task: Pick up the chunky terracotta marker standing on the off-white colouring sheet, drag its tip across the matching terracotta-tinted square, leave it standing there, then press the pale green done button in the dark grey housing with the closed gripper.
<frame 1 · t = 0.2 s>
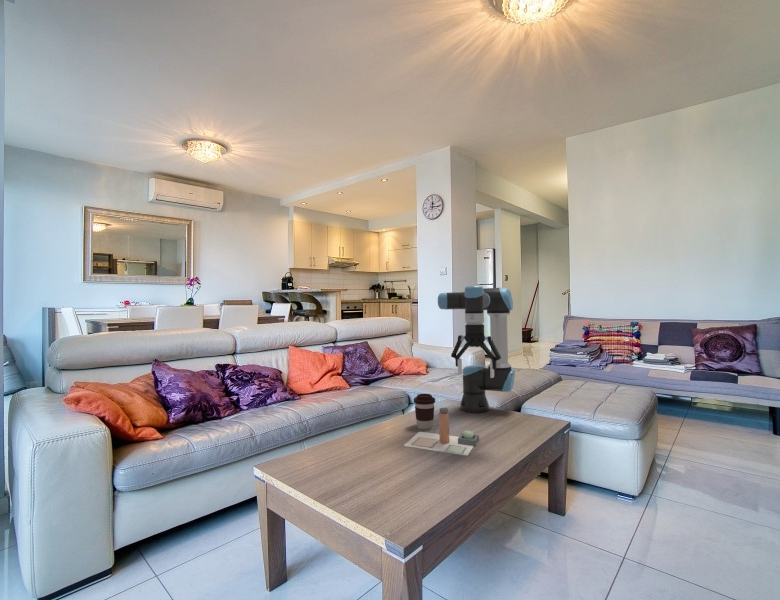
hand: (475, 376, 154), 27 cm above the table, fingers open, 13 cm apart
button housing: (468, 441, 155), resting on sheet
marker: (444, 442, 155), resting on sheet
done button: (468, 435, 155), point 3 cm above the table, slide at 0.0 cm
sheet: (441, 443, 154), on the table
coffee cup: (425, 428, 174), on the table
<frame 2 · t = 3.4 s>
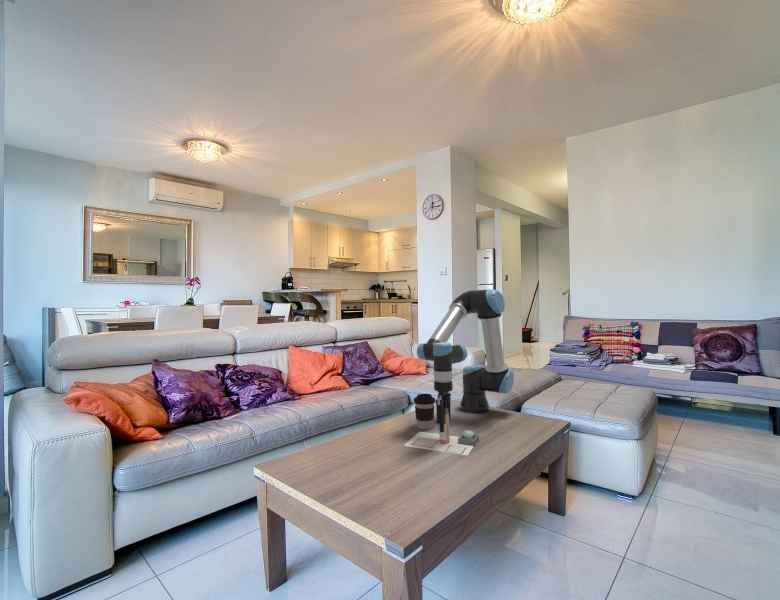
hand: (444, 437, 155), 2 cm above the table, fingers closed on marker, 4 cm apart
marker: (444, 442, 155), resting on sheet, touching gripper
everything else where it was.
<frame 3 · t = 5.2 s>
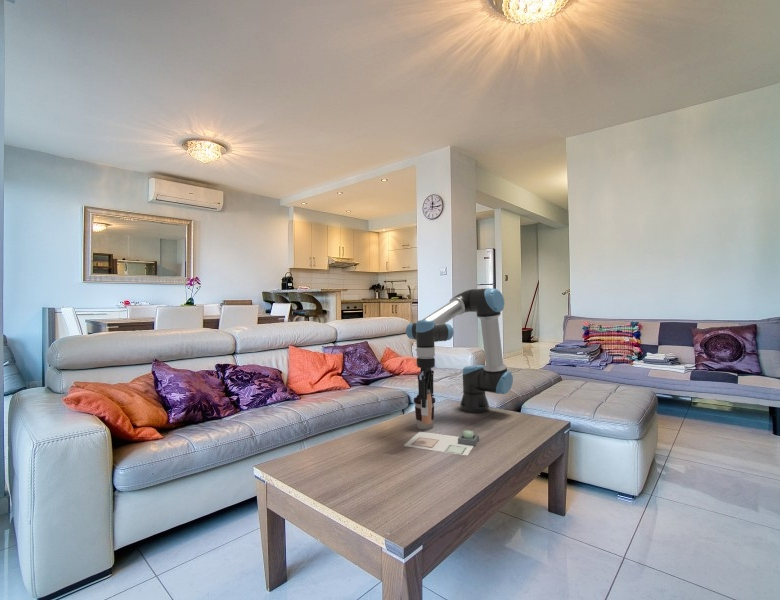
hand: (426, 413, 157), 12 cm above the table, fingers closed on marker, 4 cm apart
marker: (426, 422, 157), point 8 cm above the table, touching gripper
everything else where it was.
when the fingers open (2 cm above the table, at t = 7.6 s): marker stays where it is, resting on sheet.
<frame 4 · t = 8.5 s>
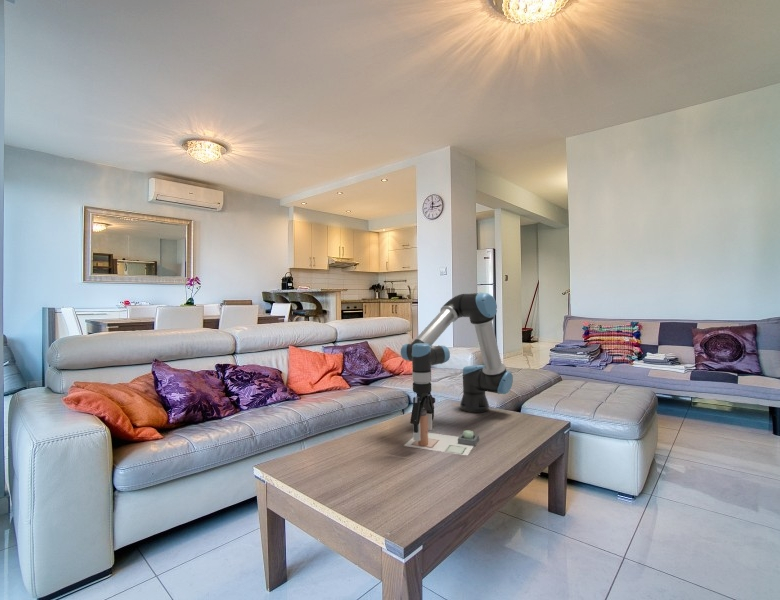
hand: (423, 434, 152), 4 cm above the table, fingers open, 13 cm apart
marker: (423, 444, 152), resting on sheet
everything else where it was.
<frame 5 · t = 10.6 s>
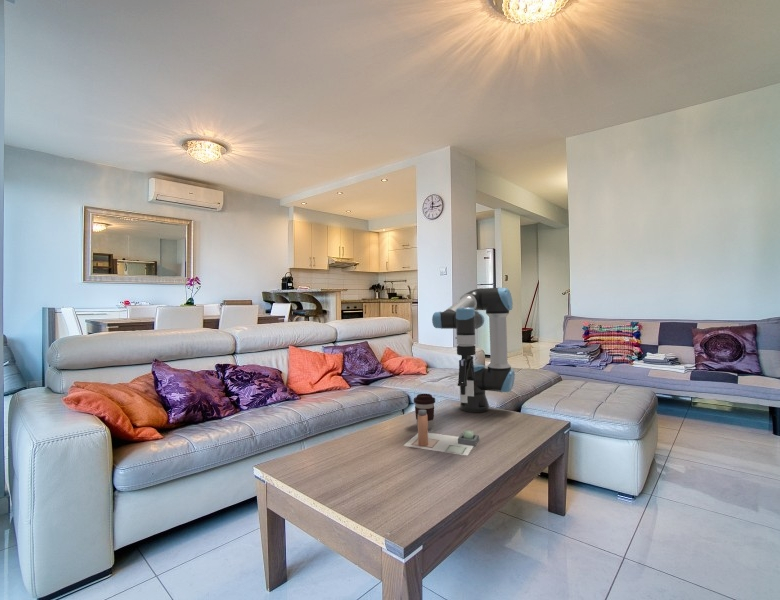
hand: (467, 399, 155), 18 cm above the table, fingers open, 10 cm apart
nothing on the table moved.
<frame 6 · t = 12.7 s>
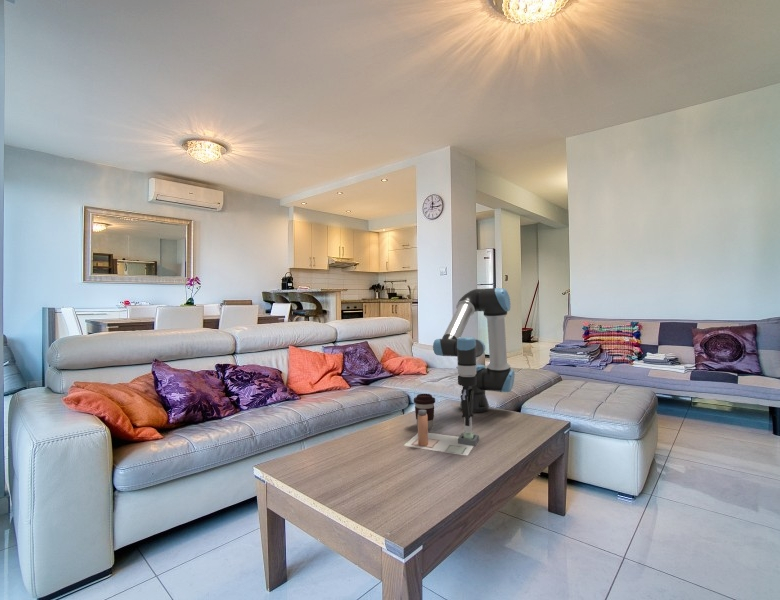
hand: (468, 432, 154), 4 cm above the table, fingers closed
done button: (468, 437, 155), point 2 cm above the table, slide at 0.6 cm, touching gripper
everything else where it was.
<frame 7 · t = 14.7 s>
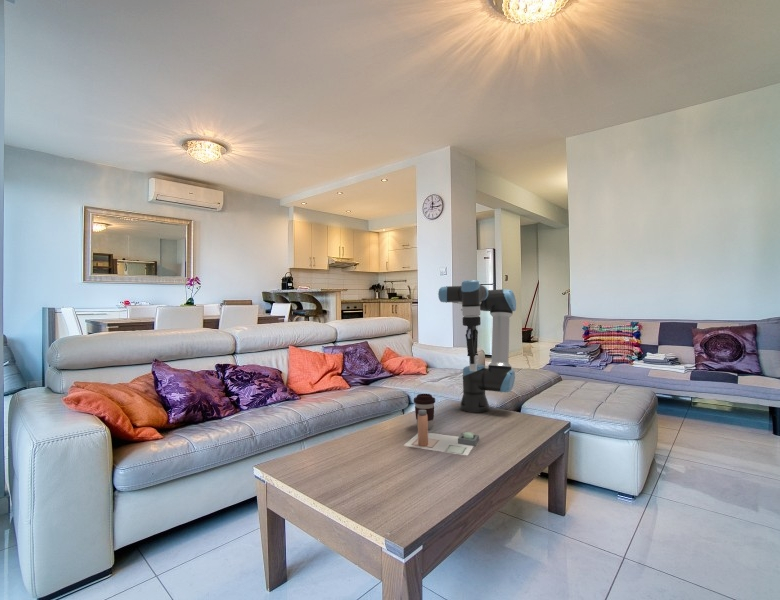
hand: (473, 370, 163), 28 cm above the table, fingers closed
done button: (468, 437, 155), point 2 cm above the table, slide at 0.6 cm
everything else where it was.
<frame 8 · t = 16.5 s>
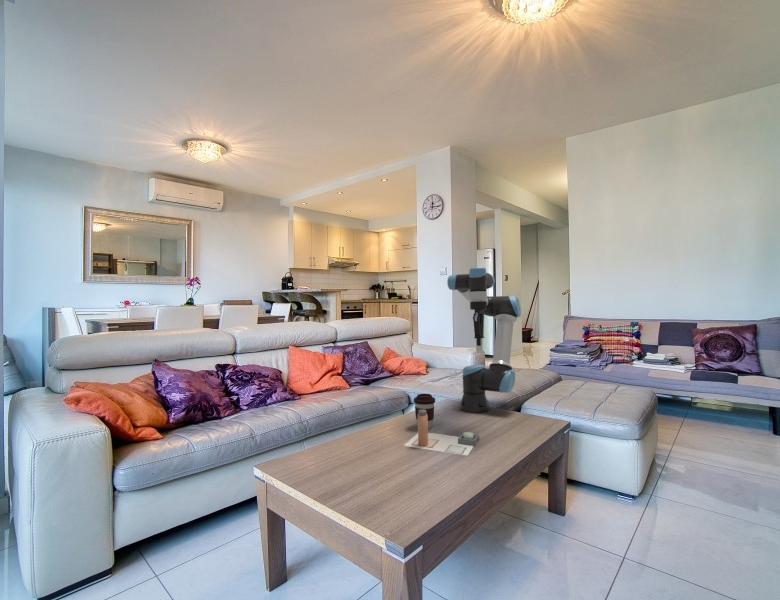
hand: (479, 352, 172), 34 cm above the table, fingers closed
nothing on the table moved.
at the end: marker inside the target area (2.5 cm from its centre), point 0.5 cm above the table; done button slide at 0.6 cm; the gripper is holding nothing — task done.
